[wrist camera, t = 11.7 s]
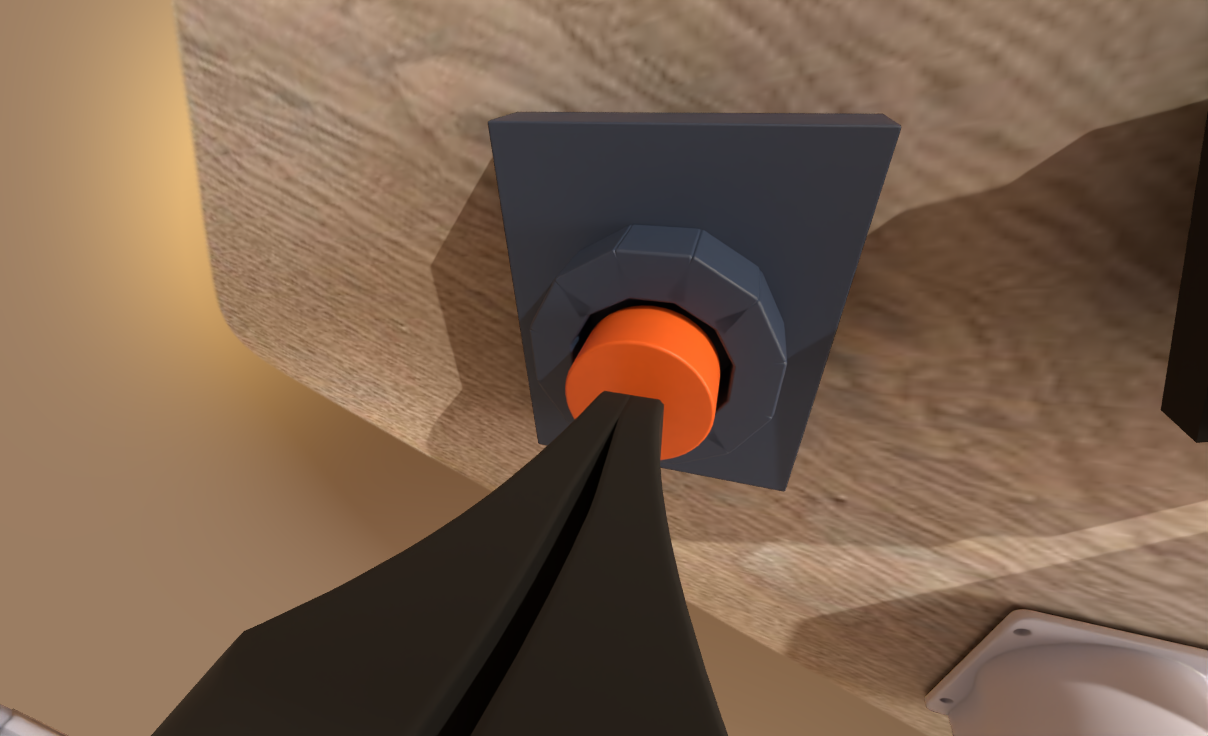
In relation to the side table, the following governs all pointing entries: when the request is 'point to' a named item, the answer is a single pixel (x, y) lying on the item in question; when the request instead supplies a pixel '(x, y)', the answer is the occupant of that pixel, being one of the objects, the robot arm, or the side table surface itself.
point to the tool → (1192, 323)
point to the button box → (693, 253)
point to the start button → (651, 371)
